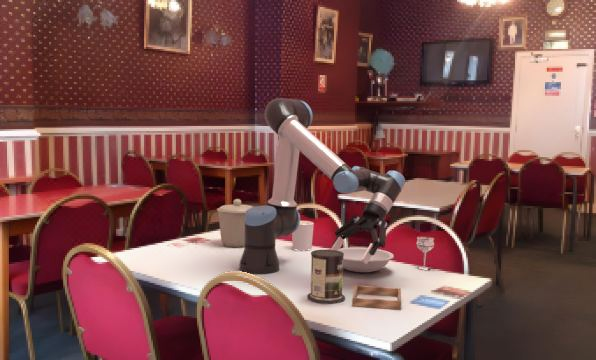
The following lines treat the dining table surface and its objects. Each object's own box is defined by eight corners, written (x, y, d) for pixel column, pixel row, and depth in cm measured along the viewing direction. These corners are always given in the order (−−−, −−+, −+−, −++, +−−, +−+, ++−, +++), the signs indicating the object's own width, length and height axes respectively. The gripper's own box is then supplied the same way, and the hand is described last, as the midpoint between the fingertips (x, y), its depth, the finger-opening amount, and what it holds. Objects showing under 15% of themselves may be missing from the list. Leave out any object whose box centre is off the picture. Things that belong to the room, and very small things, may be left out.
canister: (232, 251, 248) (232, 202, 246) (208, 244, 261) (209, 198, 259) (264, 246, 260) (265, 200, 258) (240, 239, 273) (241, 195, 271)
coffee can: (344, 293, 187) (345, 250, 186) (340, 302, 177) (341, 257, 176) (312, 290, 189) (314, 248, 188) (307, 299, 179) (308, 254, 178)
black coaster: (304, 302, 178) (304, 300, 178) (310, 291, 190) (310, 289, 190) (343, 305, 176) (343, 303, 176) (346, 294, 188) (346, 292, 188)
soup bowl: (318, 266, 224) (318, 250, 224) (368, 261, 236) (368, 245, 235) (353, 281, 203) (354, 263, 203) (406, 274, 215) (407, 257, 215)
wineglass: (412, 267, 228) (413, 237, 227) (426, 266, 230) (428, 236, 229) (421, 271, 221) (422, 240, 220) (436, 270, 224) (437, 239, 223)
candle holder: (313, 251, 251) (313, 224, 250) (290, 251, 251) (291, 224, 250) (312, 247, 261) (313, 221, 259) (291, 246, 261) (291, 220, 260)
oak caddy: (352, 306, 175) (352, 298, 175) (355, 292, 190) (355, 285, 189) (400, 309, 173) (401, 301, 173) (400, 295, 187) (400, 288, 187)
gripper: (412, 220, 192) (382, 272, 183) (353, 211, 209) (324, 257, 200) (403, 206, 188) (373, 257, 178) (345, 197, 205) (314, 244, 196)
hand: (347, 257), depth 189 cm, fingers open, 13 cm apart
